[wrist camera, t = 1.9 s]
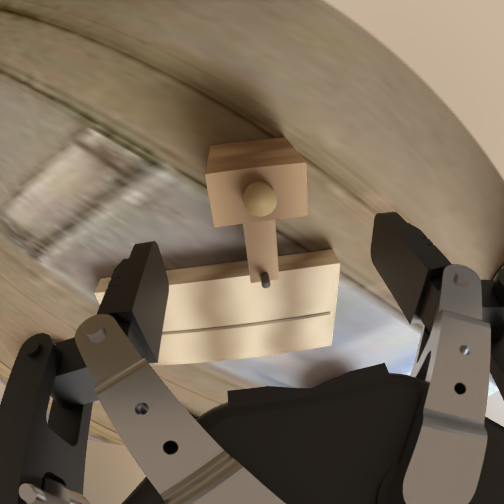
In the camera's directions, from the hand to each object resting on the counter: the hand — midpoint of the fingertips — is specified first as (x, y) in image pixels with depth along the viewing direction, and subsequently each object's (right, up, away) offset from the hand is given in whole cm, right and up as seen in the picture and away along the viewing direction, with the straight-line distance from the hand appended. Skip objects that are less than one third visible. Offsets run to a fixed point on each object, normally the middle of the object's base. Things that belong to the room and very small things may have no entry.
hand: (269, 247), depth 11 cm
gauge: (0, +3, +11) cm, 12 cm away
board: (-3, -5, +17) cm, 18 cm away
